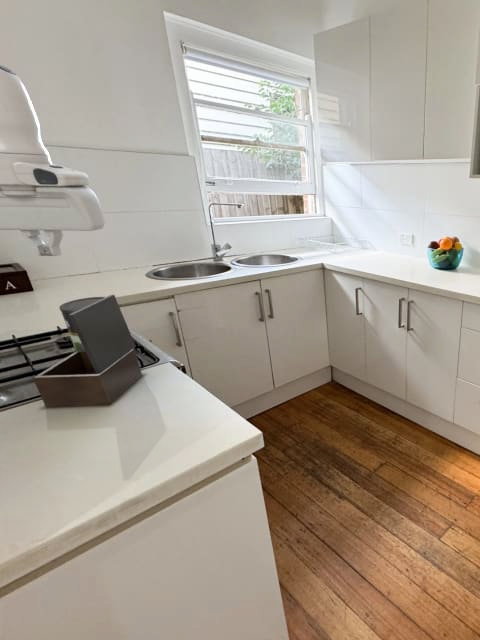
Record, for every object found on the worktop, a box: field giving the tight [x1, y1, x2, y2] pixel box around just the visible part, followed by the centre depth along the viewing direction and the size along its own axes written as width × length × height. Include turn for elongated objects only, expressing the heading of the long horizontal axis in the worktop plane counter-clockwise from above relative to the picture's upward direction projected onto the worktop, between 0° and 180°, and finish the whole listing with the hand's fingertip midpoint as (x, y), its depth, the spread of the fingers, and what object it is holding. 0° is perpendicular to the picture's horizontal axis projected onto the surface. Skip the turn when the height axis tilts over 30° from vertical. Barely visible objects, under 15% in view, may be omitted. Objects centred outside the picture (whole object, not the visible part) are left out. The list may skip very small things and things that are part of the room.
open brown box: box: [32, 348, 143, 409], centre depth 80 cm, size 12×13×7 cm
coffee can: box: [58, 296, 106, 352], centre depth 94 cm, size 10×10×14 cm
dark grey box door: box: [68, 294, 137, 374], centre depth 77 cm, size 12×13×1 cm
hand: (50, 255), depth 70 cm, fingers closed
